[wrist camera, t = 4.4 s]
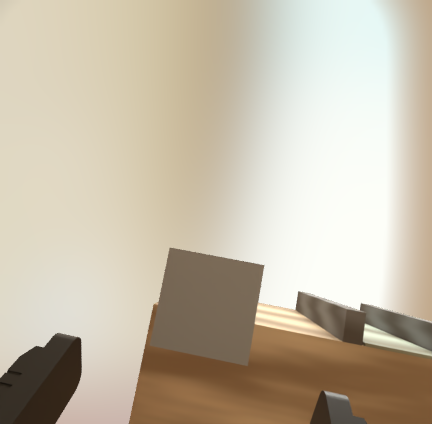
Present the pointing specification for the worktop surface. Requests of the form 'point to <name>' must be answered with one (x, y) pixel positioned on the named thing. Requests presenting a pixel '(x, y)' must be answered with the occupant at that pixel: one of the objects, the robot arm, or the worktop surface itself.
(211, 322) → the light gray bar
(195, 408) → the maple block
